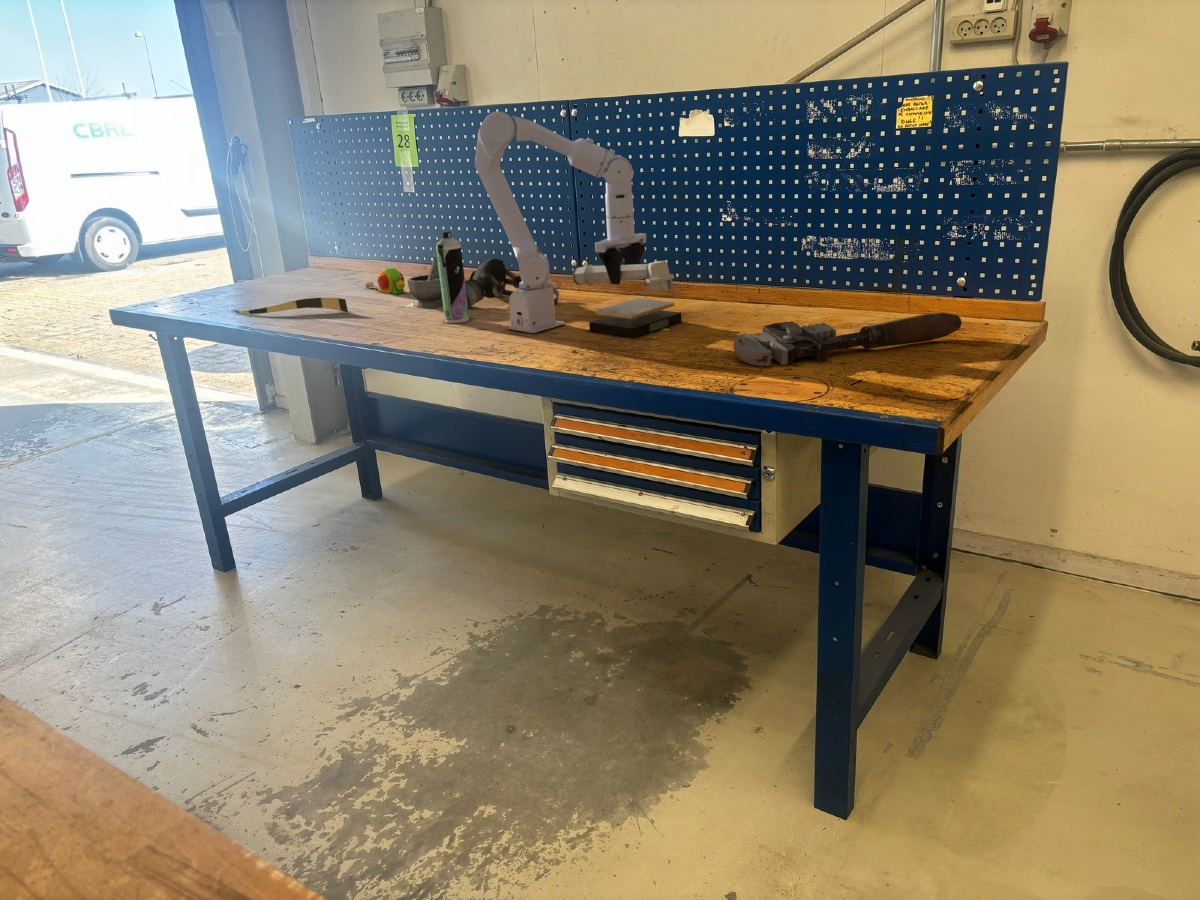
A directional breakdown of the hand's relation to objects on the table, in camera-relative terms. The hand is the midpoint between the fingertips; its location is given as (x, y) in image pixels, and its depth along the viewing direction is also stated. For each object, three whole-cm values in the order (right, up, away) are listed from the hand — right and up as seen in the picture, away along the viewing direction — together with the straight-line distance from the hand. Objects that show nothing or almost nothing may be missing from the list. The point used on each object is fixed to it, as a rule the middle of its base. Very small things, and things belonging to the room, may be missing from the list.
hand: (623, 281), depth 183 cm
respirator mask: (-27, 0, +28) cm, 39 cm away
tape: (-86, -1, +36) cm, 93 cm away
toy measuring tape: (-65, +8, +55) cm, 85 cm away
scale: (+3, -10, -3) cm, 11 cm away
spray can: (-38, -7, +13) cm, 41 cm away
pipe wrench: (+40, -18, -28) cm, 52 cm away
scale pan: (+2, -8, -4) cm, 9 cm away
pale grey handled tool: (0, -2, +1) cm, 2 cm away
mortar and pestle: (-47, 0, +33) cm, 57 cm away
